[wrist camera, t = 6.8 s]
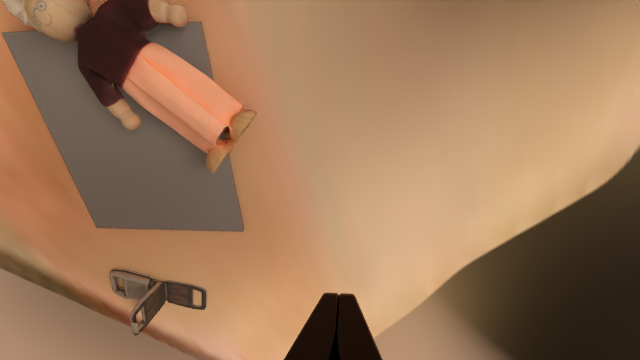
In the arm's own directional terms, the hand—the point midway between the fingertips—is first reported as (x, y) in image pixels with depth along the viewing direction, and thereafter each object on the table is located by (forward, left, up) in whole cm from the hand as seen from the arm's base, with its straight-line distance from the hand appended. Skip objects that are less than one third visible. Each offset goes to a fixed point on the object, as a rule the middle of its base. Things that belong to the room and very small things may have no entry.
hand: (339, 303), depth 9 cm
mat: (+14, 0, -12) cm, 18 cm away
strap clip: (+17, +14, -13) cm, 25 cm away
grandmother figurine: (+6, -1, -11) cm, 12 cm away
